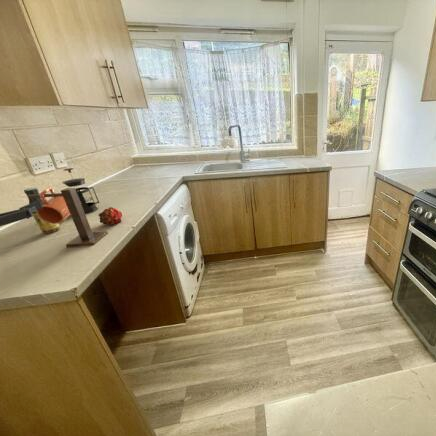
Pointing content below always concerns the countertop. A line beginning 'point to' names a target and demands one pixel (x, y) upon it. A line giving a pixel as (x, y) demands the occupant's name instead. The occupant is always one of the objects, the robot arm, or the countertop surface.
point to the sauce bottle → (43, 225)
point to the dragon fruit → (110, 216)
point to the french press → (80, 181)
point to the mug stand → (77, 219)
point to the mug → (53, 208)
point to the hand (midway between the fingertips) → (17, 206)
